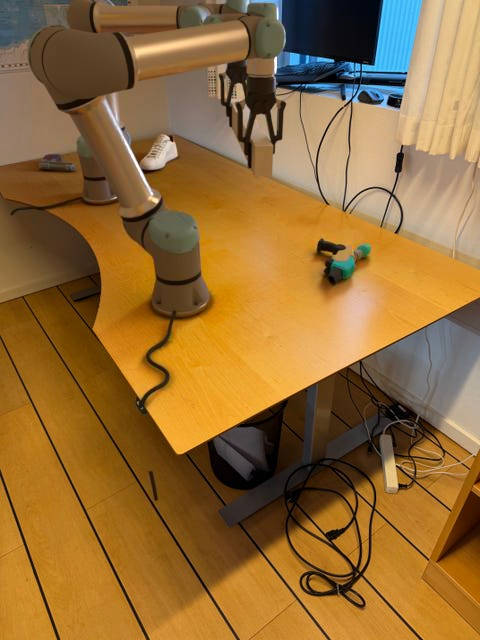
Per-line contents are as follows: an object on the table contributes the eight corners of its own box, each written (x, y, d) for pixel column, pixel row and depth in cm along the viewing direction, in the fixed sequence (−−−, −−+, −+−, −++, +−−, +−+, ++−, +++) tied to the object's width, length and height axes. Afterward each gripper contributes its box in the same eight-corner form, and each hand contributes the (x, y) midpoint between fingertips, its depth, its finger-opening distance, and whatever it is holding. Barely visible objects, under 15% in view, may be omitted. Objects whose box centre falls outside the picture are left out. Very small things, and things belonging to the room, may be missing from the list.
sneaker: (133, 173, 208) (129, 144, 201) (161, 153, 230) (158, 127, 223) (155, 175, 205) (151, 146, 198) (180, 155, 227) (178, 129, 220)
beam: (272, 176, 130) (273, 145, 125) (254, 177, 129) (255, 146, 124) (241, 122, 178) (242, 98, 173) (229, 122, 177) (229, 99, 173)
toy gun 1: (87, 162, 220) (72, 173, 209) (51, 160, 224) (33, 171, 212) (86, 154, 218) (70, 164, 206) (49, 152, 221) (31, 162, 209)
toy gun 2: (295, 266, 131) (348, 279, 125) (326, 230, 149) (373, 240, 144) (294, 280, 133) (346, 293, 128) (325, 243, 152) (371, 253, 146)
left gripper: (262, 50, 162) (260, 122, 175) (210, 51, 160) (212, 124, 173) (266, 53, 156) (264, 127, 169) (212, 54, 154) (214, 129, 167)
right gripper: (292, 72, 125) (287, 161, 139) (224, 73, 123) (226, 163, 137) (298, 76, 119) (292, 169, 133) (228, 78, 117) (229, 172, 131)
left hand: (238, 125), depth 171 cm, fingers closed on beam, 5 cm apart
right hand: (259, 166), depth 135 cm, fingers closed on beam, 5 cm apart
